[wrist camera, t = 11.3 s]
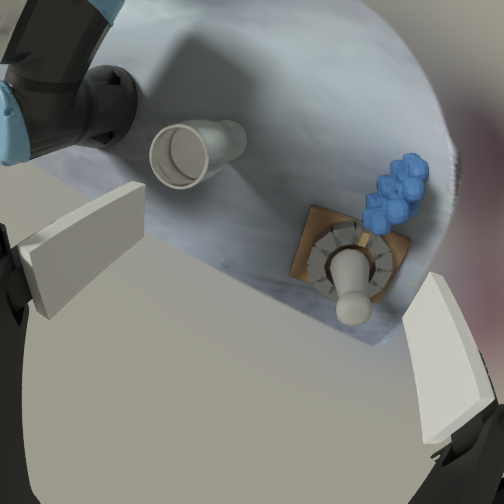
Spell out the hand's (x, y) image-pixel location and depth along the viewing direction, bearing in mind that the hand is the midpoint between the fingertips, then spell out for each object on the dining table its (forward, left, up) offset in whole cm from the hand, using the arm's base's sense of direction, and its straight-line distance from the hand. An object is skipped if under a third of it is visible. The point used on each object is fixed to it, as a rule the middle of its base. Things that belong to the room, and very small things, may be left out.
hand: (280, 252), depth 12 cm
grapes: (+12, 0, -29) cm, 31 cm away
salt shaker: (+10, -13, -28) cm, 32 cm away
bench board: (+10, -13, -29) cm, 33 cm away
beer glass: (-12, -1, -29) cm, 31 cm away
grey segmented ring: (+10, -13, -28) cm, 32 cm away
